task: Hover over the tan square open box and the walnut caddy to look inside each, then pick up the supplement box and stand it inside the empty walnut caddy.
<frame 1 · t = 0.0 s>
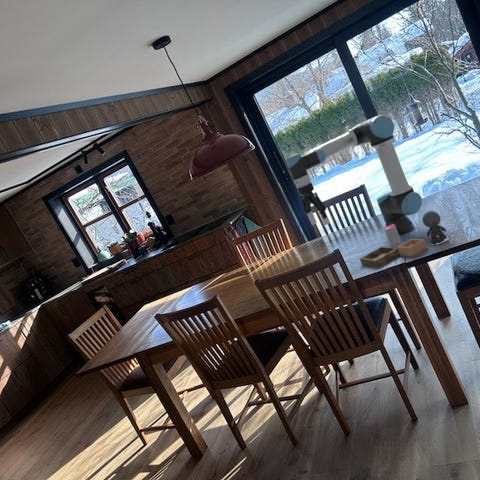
hand: (320, 224, 218), 28 cm above the table, fingers open, 13 cm apart
walnut caddy: (381, 259, 218), on the table
figurine: (439, 241, 208), on the table
supplement box: (396, 247, 226), on the table
tan square open box: (414, 252, 208), on the table
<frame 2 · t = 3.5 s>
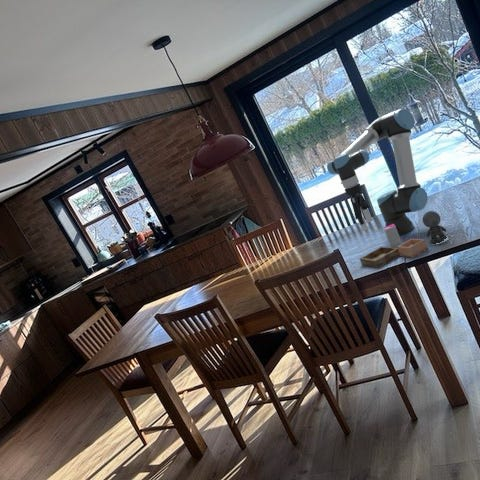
hand: (367, 225, 215), 19 cm above the table, fingers open, 13 cm apart
nothing on the table moved.
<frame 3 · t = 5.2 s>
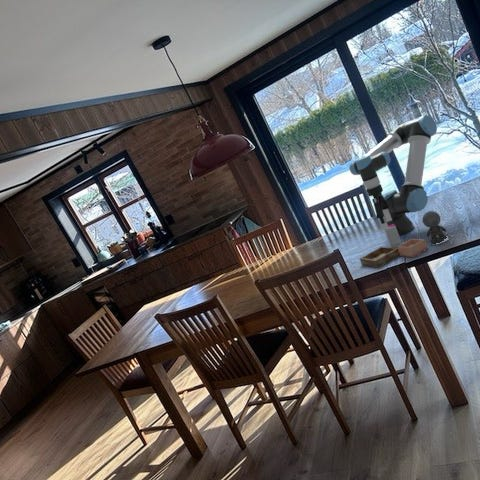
hand: (387, 224, 224), 13 cm above the table, fingers open, 13 cm apart
nothing on the table moved.
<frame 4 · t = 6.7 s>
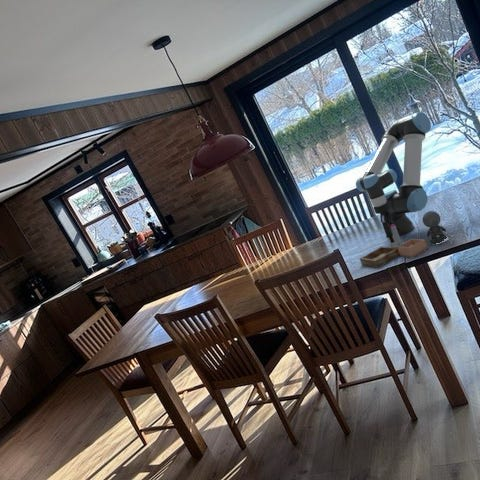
hand: (396, 244, 226), 1 cm above the table, fingers closed on supplement box, 7 cm apart
supplement box: (396, 247, 226), on the table, touching gripper
everything else where it was.
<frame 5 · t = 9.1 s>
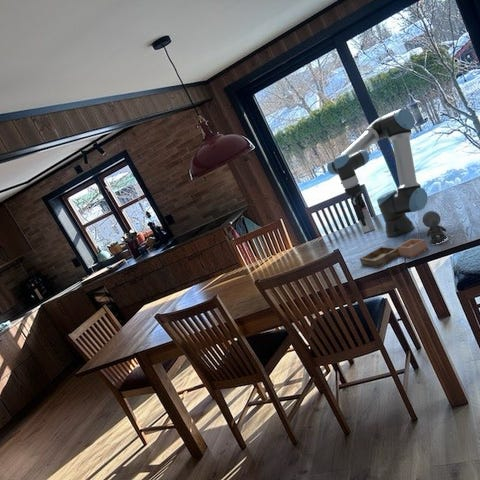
hand: (368, 228, 215), 17 cm above the table, fingers closed on supplement box, 7 cm apart
supplement box: (369, 231, 216), point 16 cm above the table, touching gripper
everything else where it was.
when the fingers open (4 cm above the table, at t = 11.8 s): supplement box drops 2 cm, resting on walnut caddy.
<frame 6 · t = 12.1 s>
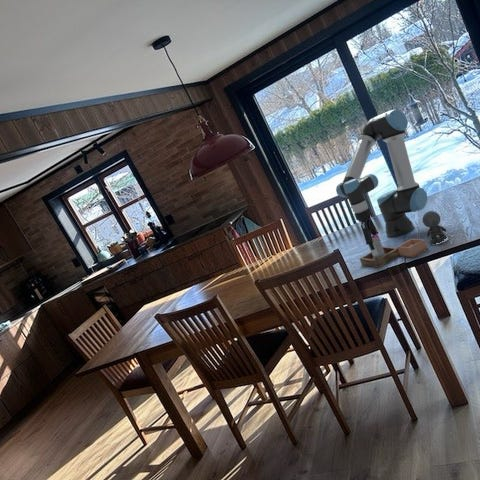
hand: (377, 250, 217), 5 cm above the table, fingers open, 10 cm apart
supplement box: (380, 258, 218), point 1 cm above the table, touching walnut caddy
everything else where it was.
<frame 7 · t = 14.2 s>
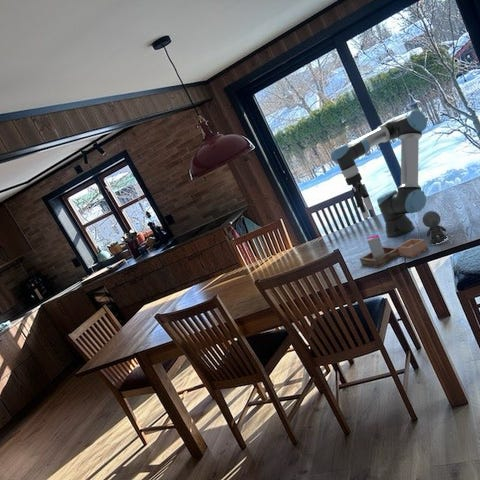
hand: (368, 213, 221), 22 cm above the table, fingers open, 13 cm apart
nothing on the table moved.
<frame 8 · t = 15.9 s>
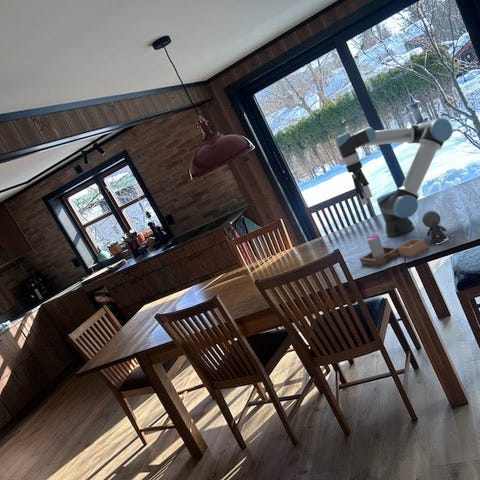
hand: (367, 200, 229), 27 cm above the table, fingers open, 13 cm apart
nothing on the table moved.
at the end: supplement box inside the target area on the walnut caddy (0.3 cm from its centre), point 0.6 cm above the walnut caddy's base; supplement box tilted 0°; the gripper is holding nothing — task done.
